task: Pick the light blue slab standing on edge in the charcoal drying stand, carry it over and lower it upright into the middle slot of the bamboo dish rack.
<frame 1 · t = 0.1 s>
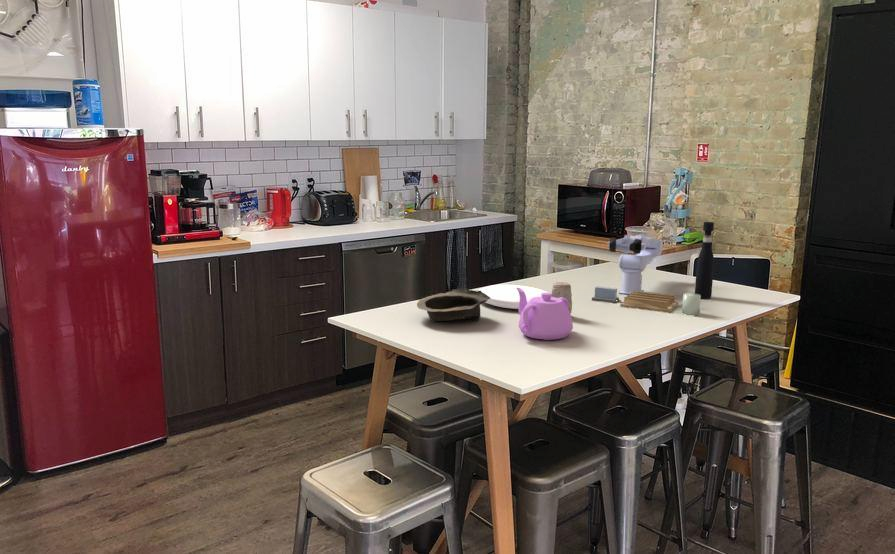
hand: (620, 246, 273), 22 cm above the table, tool horizontal, fingers open, 7 cm apart
plate: (514, 304, 274), on the table
teapot: (539, 334, 233), on the table
pale green cylinder: (690, 313, 261), on the table
stone bowl: (451, 320, 250), on the table
light blue slab: (605, 300, 281), on the table
black thermos bottle: (702, 297, 287), on the table
drying stand: (605, 300, 281), on the table
carving: (561, 316, 255), on the table
dish rack: (649, 305, 273), on the table
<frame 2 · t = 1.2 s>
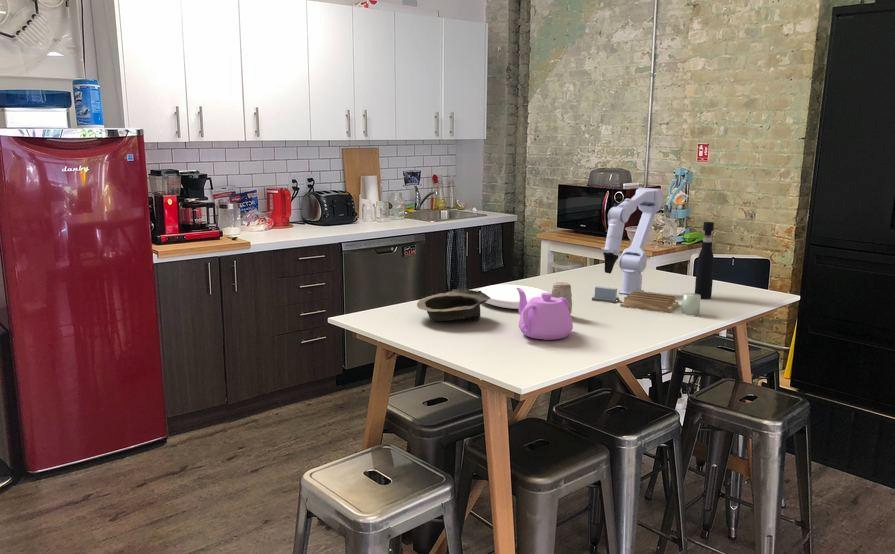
hand: (607, 272, 278), 11 cm above the table, tool tilted 15°, fingers open, 7 cm apart
nothing on the table moved.
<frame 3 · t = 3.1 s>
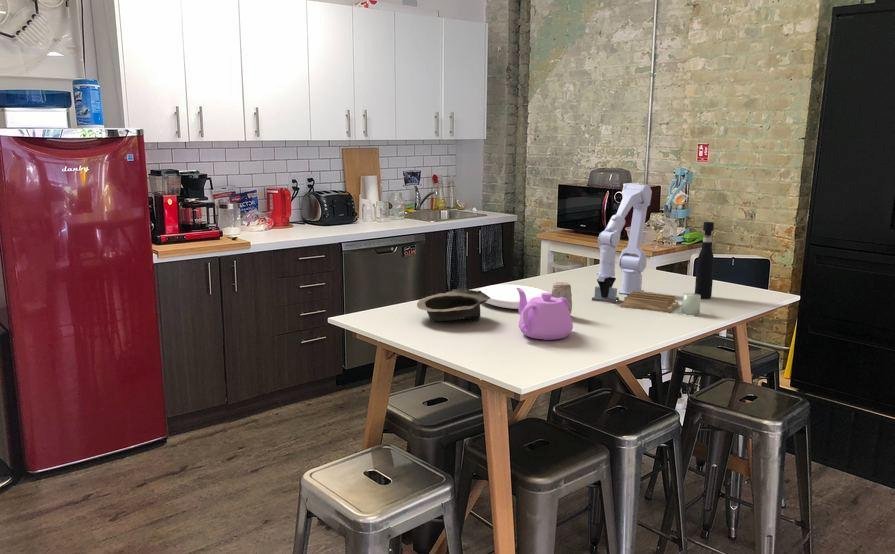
hand: (605, 296, 281), 1 cm above the table, tool pointing down, fingers closed on light blue slab, 2 cm apart
light blue slab: (605, 300, 281), on the table, touching gripper
everything else where it was.
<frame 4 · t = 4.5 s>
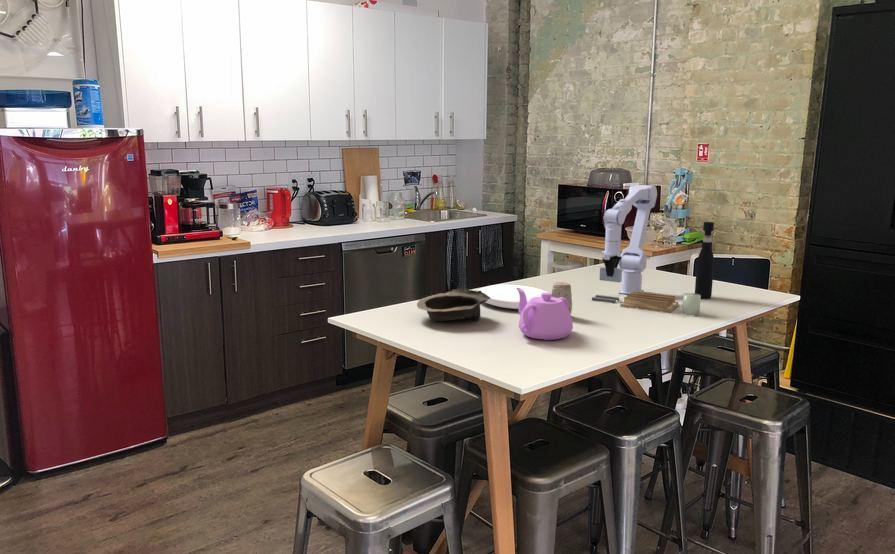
hand: (611, 275, 278), 10 cm above the table, tool pointing down, fingers closed on light blue slab, 2 cm apart
light blue slab: (610, 280, 279), point 8 cm above the table, touching gripper
everything else where it was.
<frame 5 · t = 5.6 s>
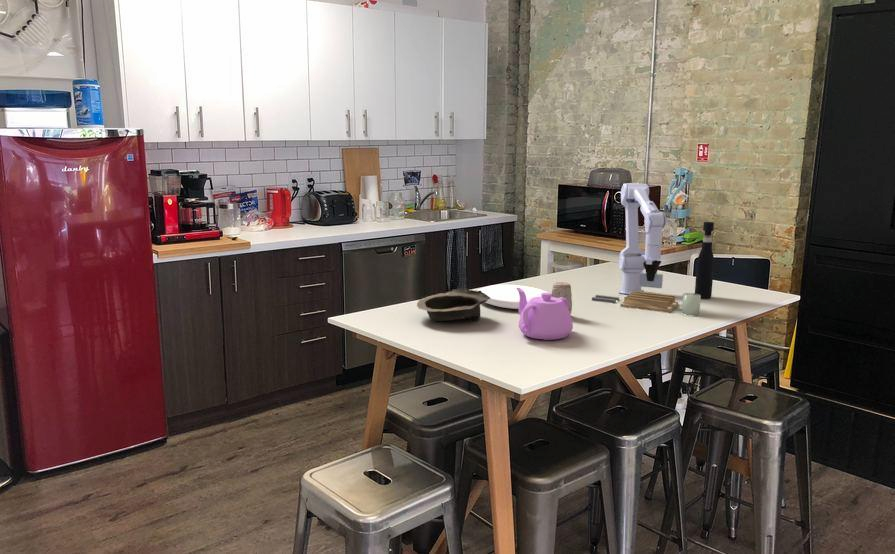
hand: (651, 280, 271), 10 cm above the table, tool pointing down, fingers closed on light blue slab, 2 cm apart
light blue slab: (650, 286, 271), point 7 cm above the table, touching gripper
everything else where it was.
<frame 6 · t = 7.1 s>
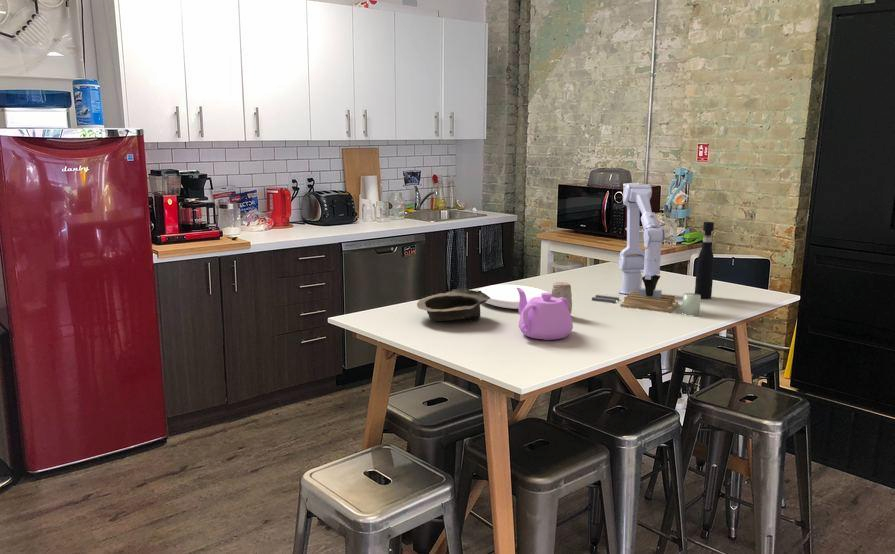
hand: (650, 295, 272), 4 cm above the table, tool pointing down, fingers closed on light blue slab, 2 cm apart
light blue slab: (649, 302, 273), point 1 cm above the table, touching gripper
everything else where it was.
when the fingers open (4 cm above the table, at t = 7.1 s): light blue slab stays where it is, resting on dish rack.
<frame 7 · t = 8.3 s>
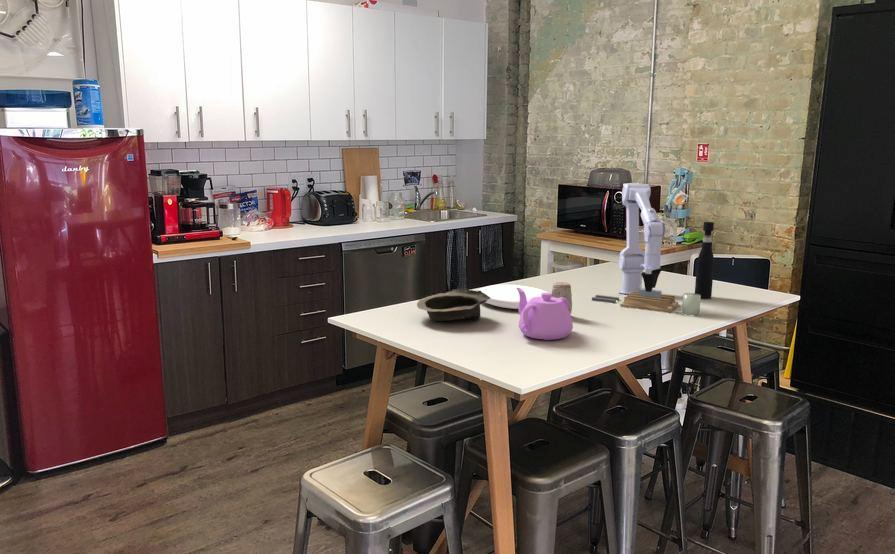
hand: (650, 289, 272), 6 cm above the table, tool pointing down, fingers open, 7 cm apart
light blue slab: (649, 302, 273), point 1 cm above the table, touching dish rack
everything else where it was.
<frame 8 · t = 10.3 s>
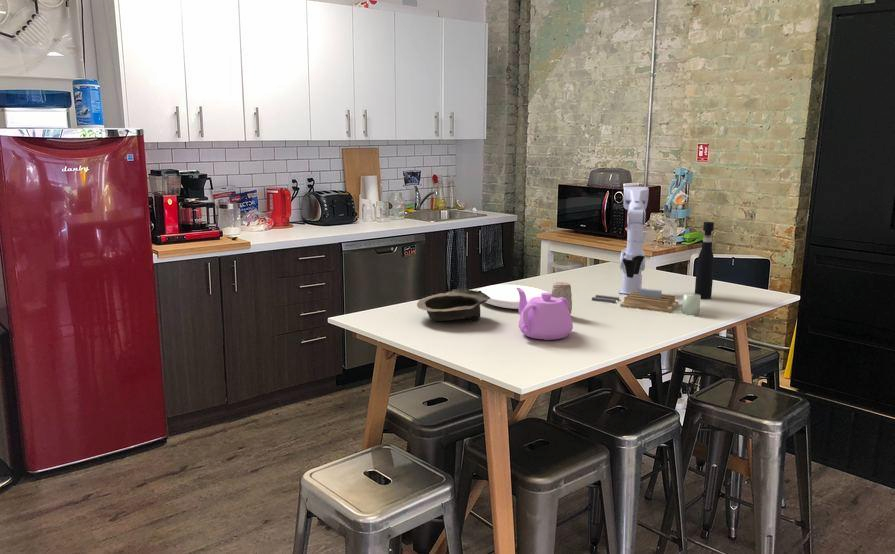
hand: (632, 275, 278), 10 cm above the table, tool pointing down, fingers open, 7 cm apart
nothing on the table moved.
at the end: light blue slab inside the target area on the dish rack (0.0 cm from its centre), point 1.0 cm above the dish rack's base; light blue slab tilted 0°; the gripper is holding nothing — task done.
